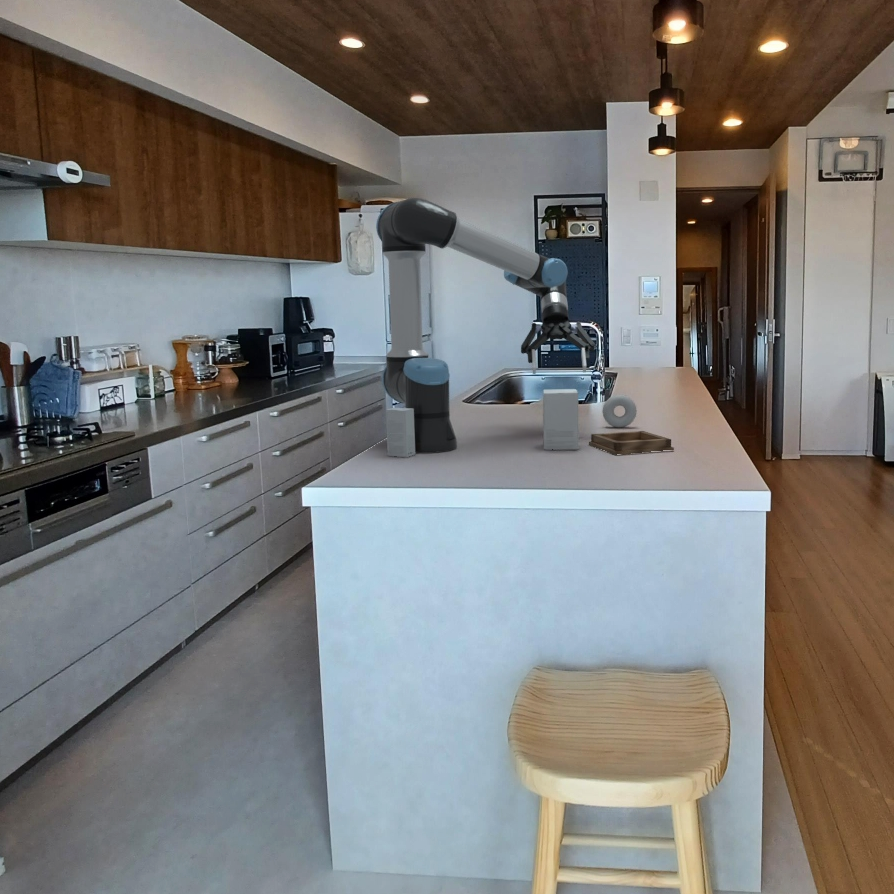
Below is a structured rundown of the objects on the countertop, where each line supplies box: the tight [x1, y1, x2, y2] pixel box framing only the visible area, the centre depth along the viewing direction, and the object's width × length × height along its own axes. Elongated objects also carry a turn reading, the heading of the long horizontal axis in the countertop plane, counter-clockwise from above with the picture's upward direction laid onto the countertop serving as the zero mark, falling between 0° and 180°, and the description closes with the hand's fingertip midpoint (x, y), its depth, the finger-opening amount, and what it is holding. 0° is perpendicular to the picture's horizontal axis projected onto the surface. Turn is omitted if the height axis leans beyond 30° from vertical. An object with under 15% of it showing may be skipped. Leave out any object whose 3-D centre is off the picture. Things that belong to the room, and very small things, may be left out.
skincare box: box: [385, 407, 416, 458], centre depth 217 cm, size 6×4×12 cm
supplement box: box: [542, 388, 579, 451], centre depth 225 cm, size 9×9×15 cm
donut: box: [602, 394, 638, 429], centre depth 256 cm, size 10×4×10 cm, turn 79°
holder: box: [588, 430, 675, 456], centre depth 222 cm, size 16×16×3 cm
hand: (559, 370), depth 234 cm, fingers open, 13 cm apart
